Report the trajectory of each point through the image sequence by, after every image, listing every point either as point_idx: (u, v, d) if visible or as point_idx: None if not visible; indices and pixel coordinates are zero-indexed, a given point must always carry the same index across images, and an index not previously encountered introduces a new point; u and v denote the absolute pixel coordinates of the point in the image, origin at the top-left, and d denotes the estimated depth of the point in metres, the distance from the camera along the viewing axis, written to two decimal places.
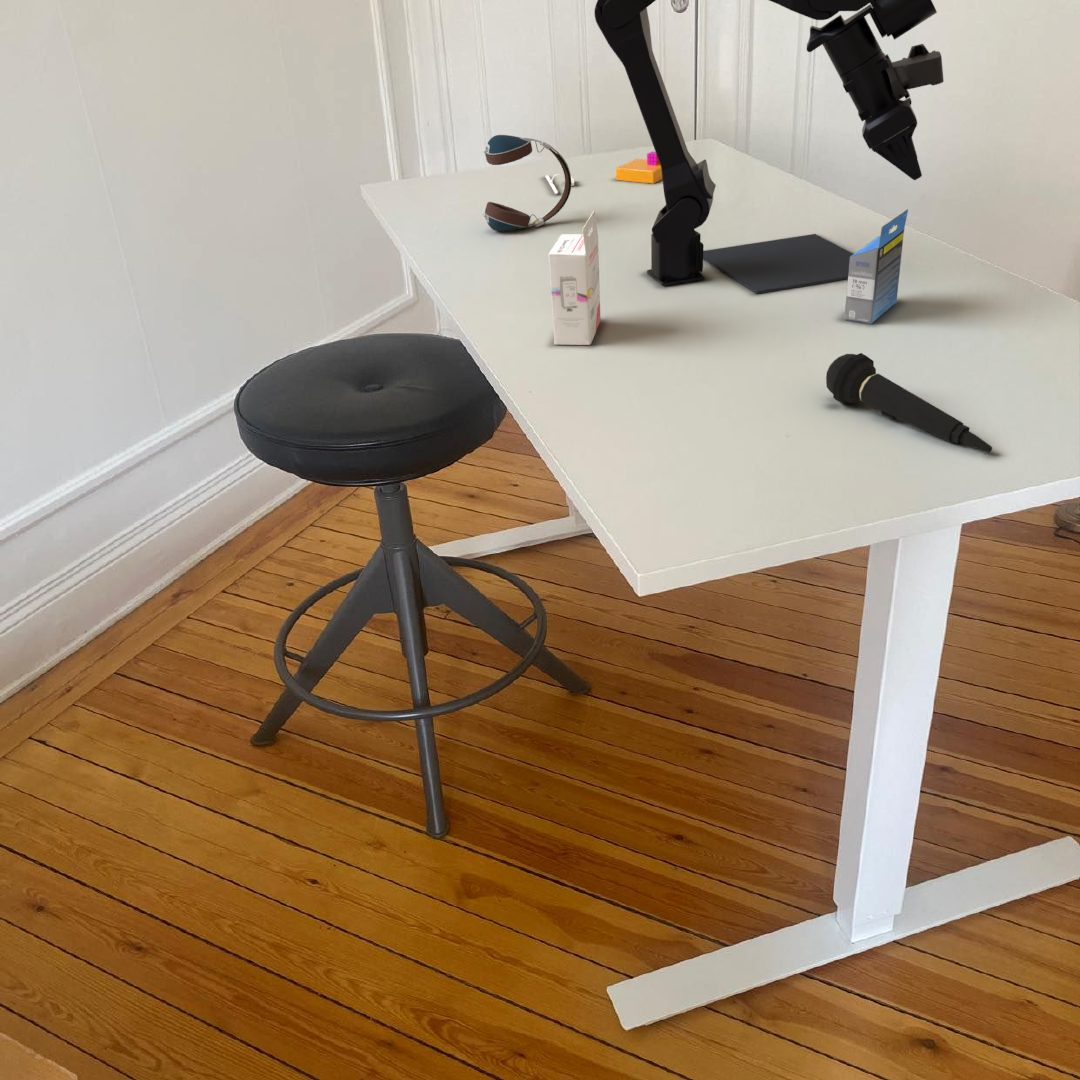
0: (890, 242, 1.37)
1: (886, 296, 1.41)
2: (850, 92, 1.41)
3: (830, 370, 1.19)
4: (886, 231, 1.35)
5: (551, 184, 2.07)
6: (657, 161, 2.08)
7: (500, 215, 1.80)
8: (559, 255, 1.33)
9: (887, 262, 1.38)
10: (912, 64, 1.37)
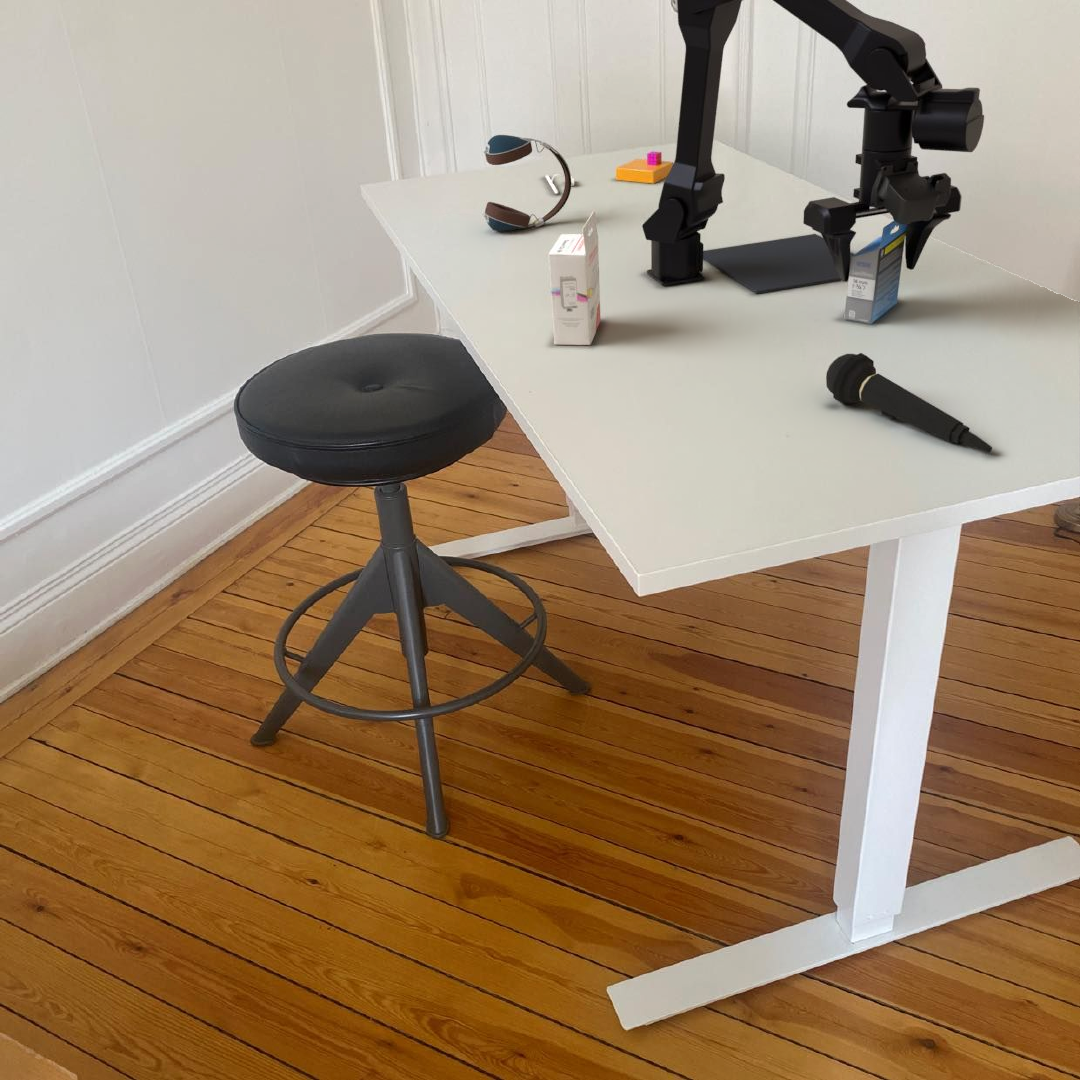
0: (891, 243, 1.37)
1: (886, 296, 1.41)
2: None
3: (830, 370, 1.19)
4: (888, 232, 1.35)
5: (551, 184, 2.07)
6: (657, 161, 2.08)
7: (500, 215, 1.80)
8: (559, 255, 1.33)
9: (887, 263, 1.38)
10: (891, 187, 1.30)
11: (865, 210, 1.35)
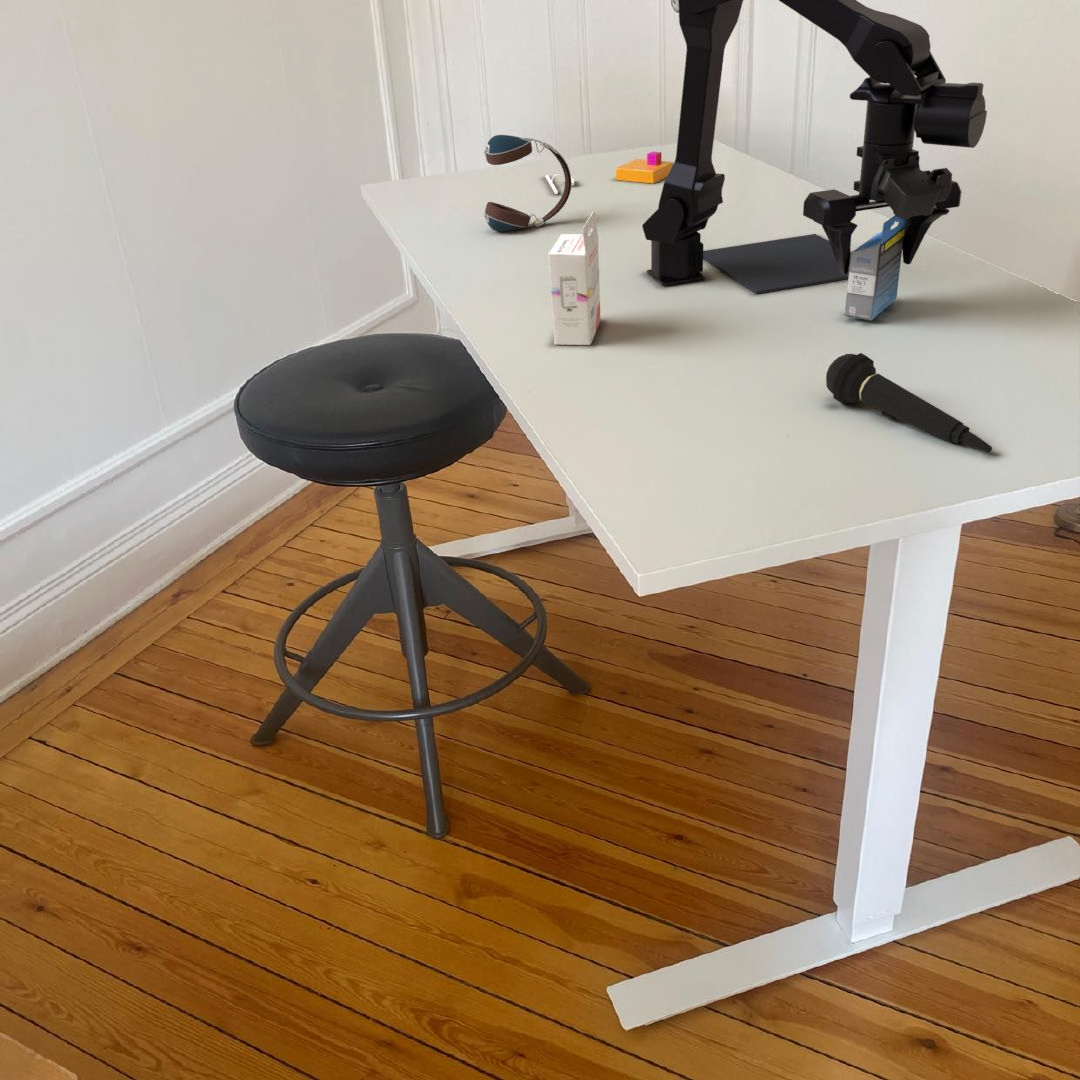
0: (891, 238, 1.37)
1: (886, 292, 1.41)
2: None
3: (830, 370, 1.19)
4: (888, 228, 1.35)
5: (551, 184, 2.07)
6: (657, 161, 2.08)
7: (500, 215, 1.80)
8: (559, 255, 1.33)
9: (887, 258, 1.38)
10: (892, 180, 1.29)
11: (867, 203, 1.34)
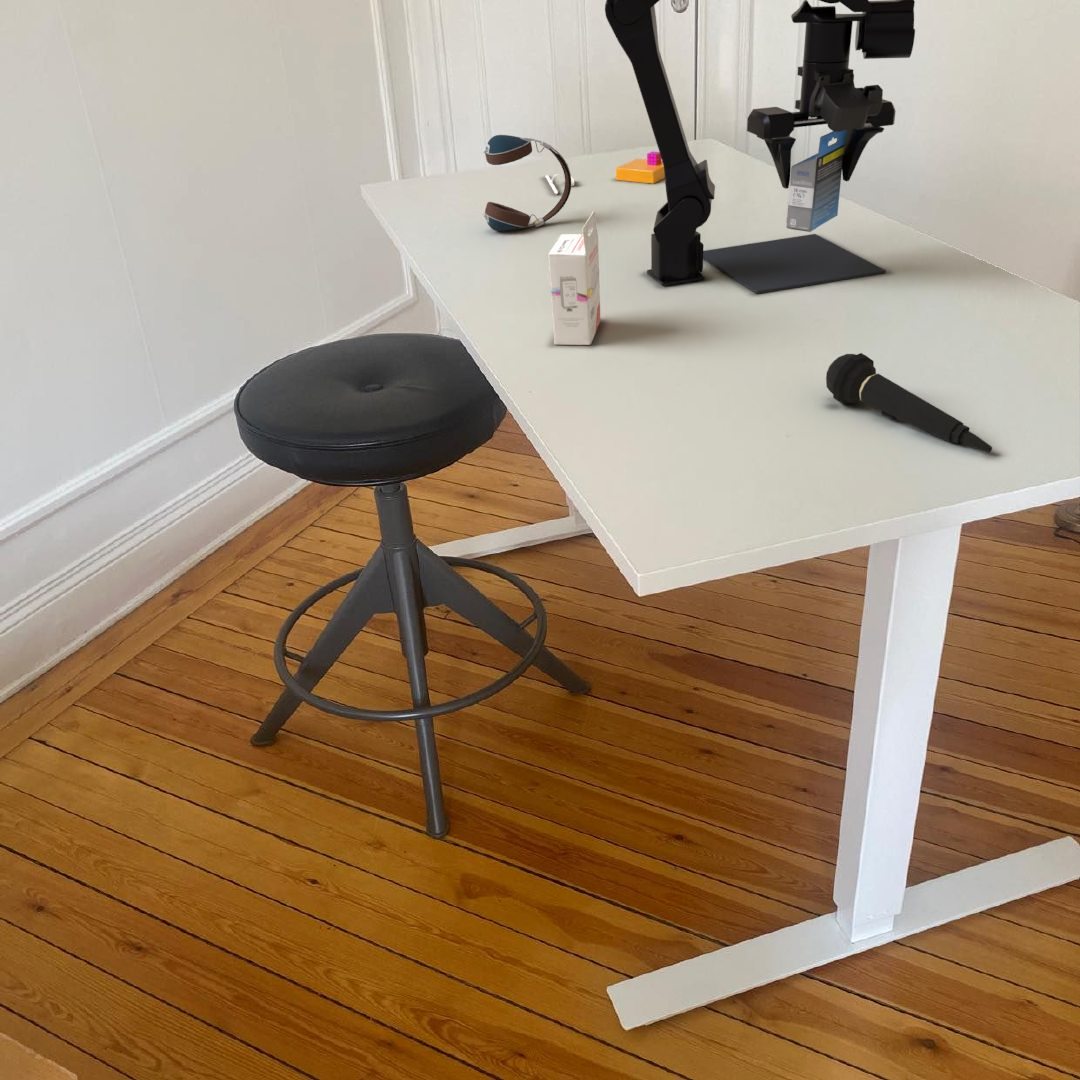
0: (829, 154, 1.46)
1: (826, 207, 1.50)
2: None
3: (830, 370, 1.19)
4: (825, 142, 1.44)
5: (551, 184, 2.07)
6: (657, 161, 2.08)
7: (500, 215, 1.80)
8: (559, 255, 1.33)
9: (826, 173, 1.47)
10: (826, 95, 1.39)
11: (805, 119, 1.44)
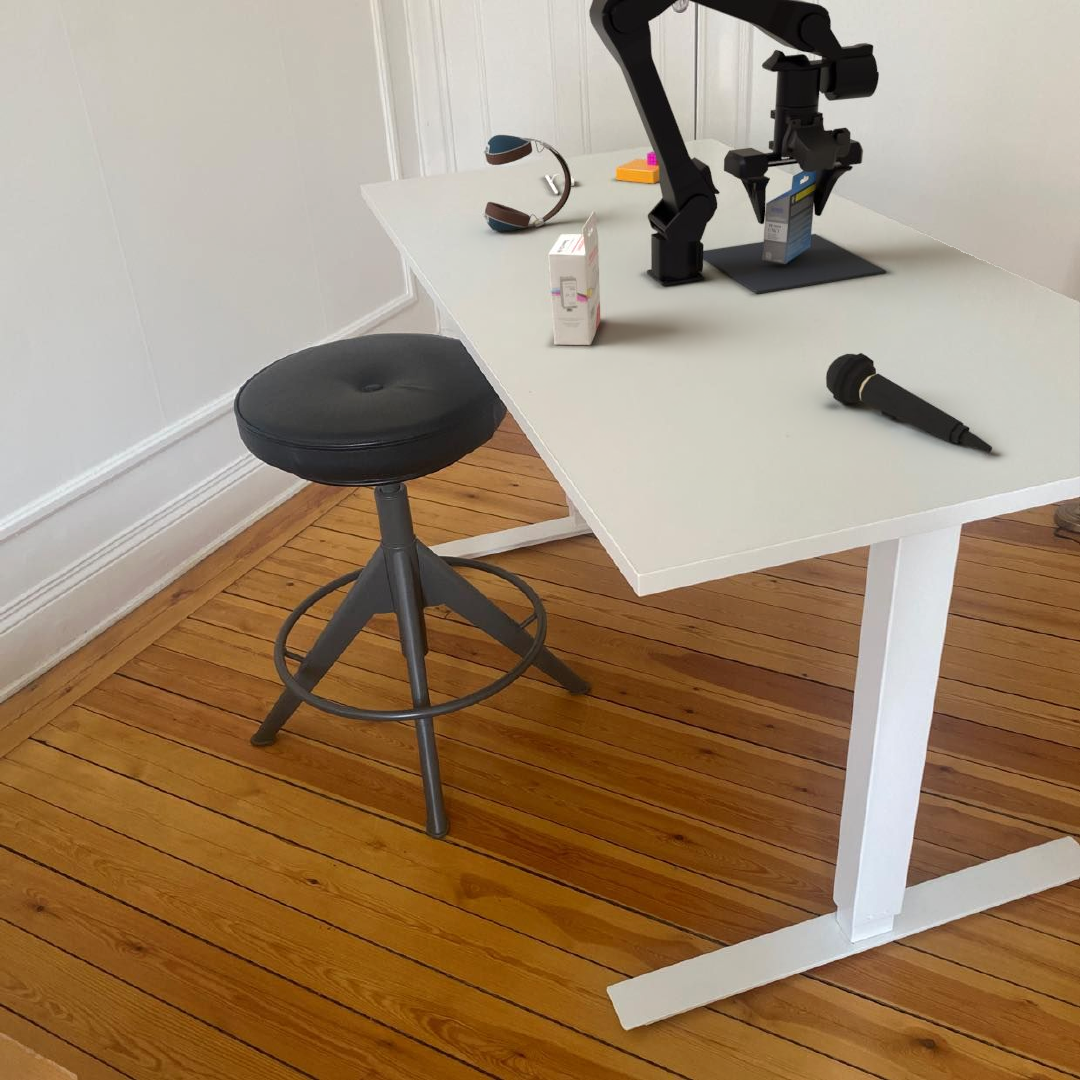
0: (801, 191, 1.55)
1: (799, 240, 1.59)
2: None
3: (830, 370, 1.19)
4: (797, 181, 1.53)
5: (551, 184, 2.07)
6: (657, 161, 2.08)
7: (500, 215, 1.80)
8: (559, 255, 1.33)
9: (799, 209, 1.56)
10: (798, 138, 1.48)
11: (779, 159, 1.53)
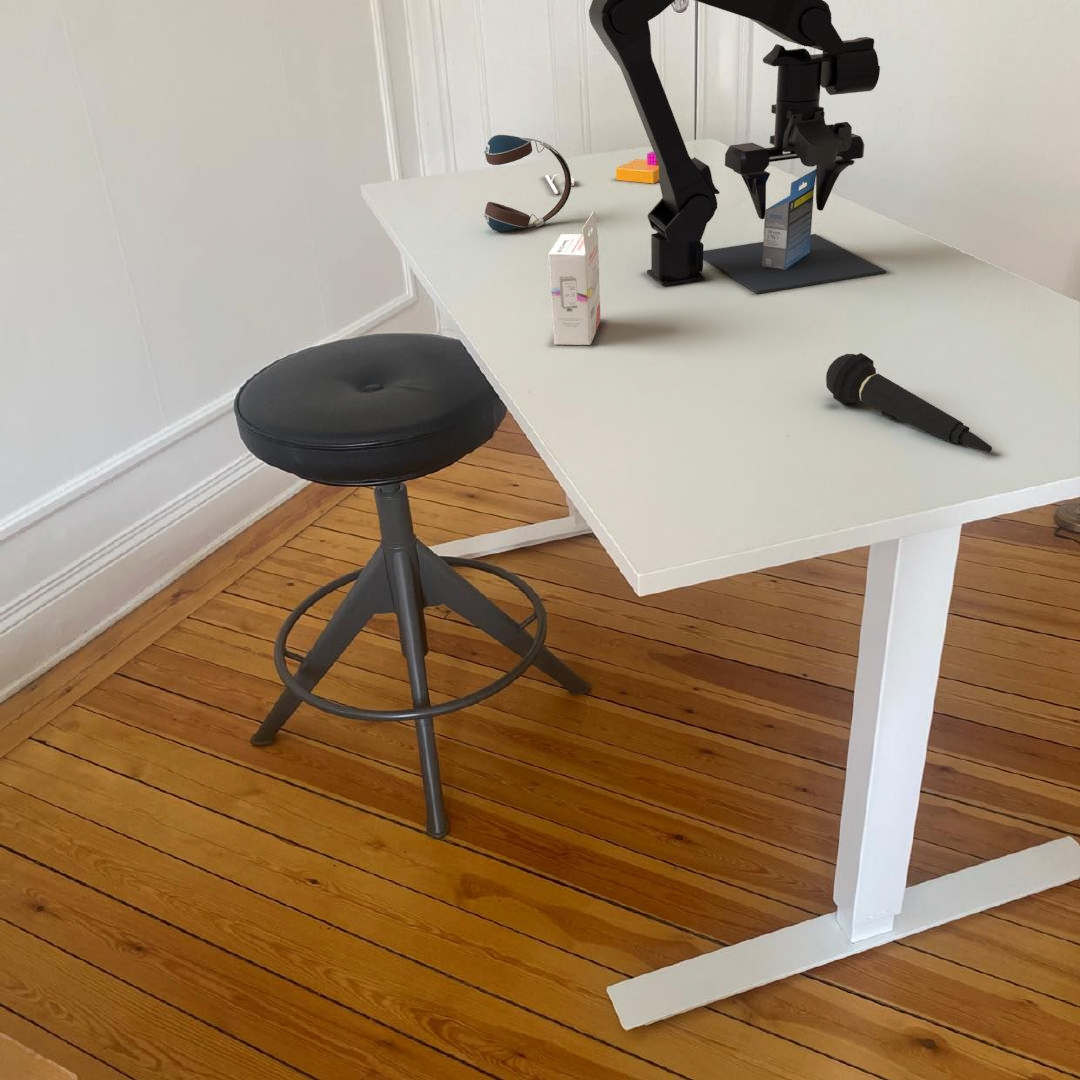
0: (800, 197, 1.56)
1: (799, 246, 1.60)
2: None
3: (830, 370, 1.19)
4: (796, 187, 1.53)
5: (551, 184, 2.07)
6: (657, 161, 2.08)
7: (500, 215, 1.80)
8: (559, 255, 1.33)
9: (798, 215, 1.57)
10: (799, 133, 1.47)
11: (779, 154, 1.52)
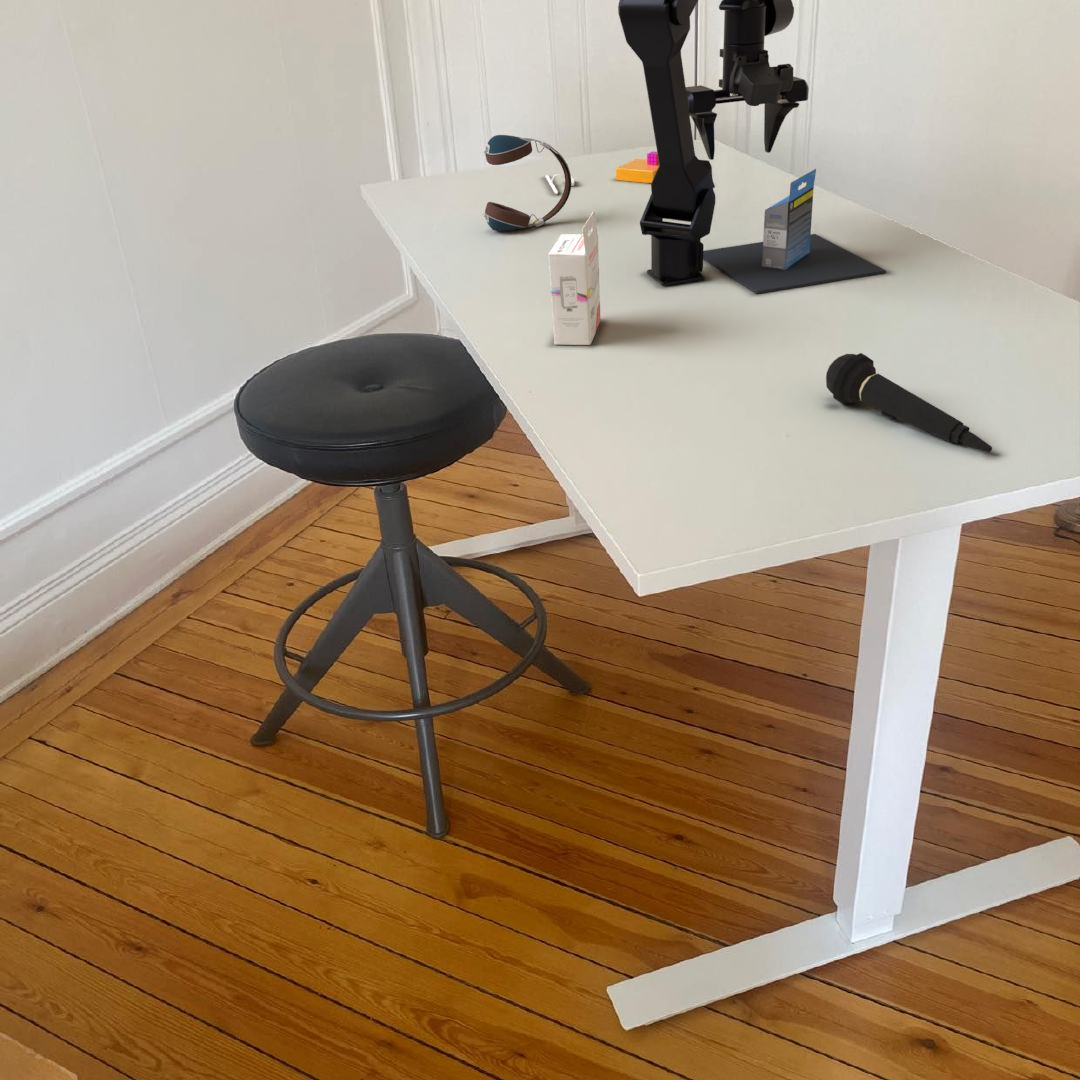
0: (800, 197, 1.56)
1: (799, 246, 1.60)
2: None
3: (830, 370, 1.19)
4: (795, 187, 1.53)
5: (551, 184, 2.07)
6: (657, 161, 2.08)
7: (500, 215, 1.80)
8: (559, 255, 1.33)
9: (797, 215, 1.57)
10: (743, 74, 1.55)
11: (726, 96, 1.60)
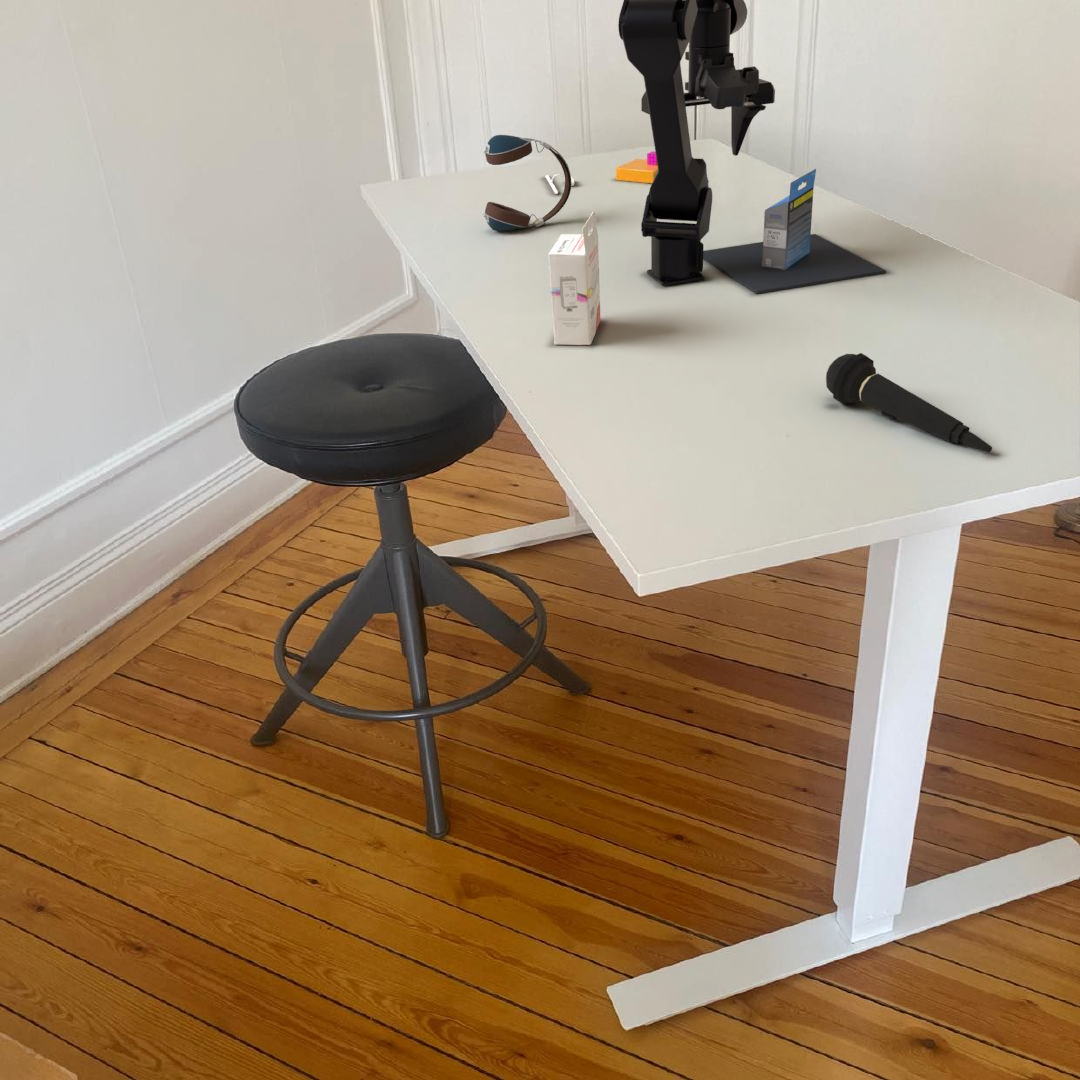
0: (800, 197, 1.56)
1: (799, 246, 1.60)
2: None
3: (830, 370, 1.19)
4: (795, 187, 1.53)
5: (551, 184, 2.07)
6: None
7: (500, 215, 1.80)
8: (559, 255, 1.33)
9: (797, 215, 1.57)
10: (709, 77, 1.54)
11: (692, 99, 1.59)
